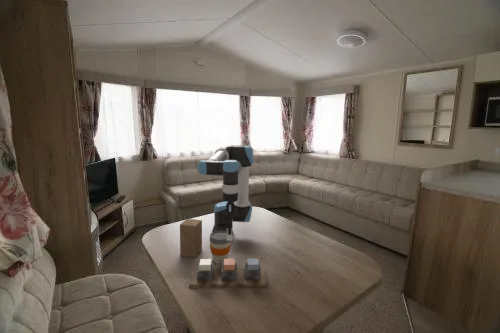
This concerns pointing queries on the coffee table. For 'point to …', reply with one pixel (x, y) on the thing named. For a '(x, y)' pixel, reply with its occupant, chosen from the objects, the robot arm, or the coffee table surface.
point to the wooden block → (190, 238)
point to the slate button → (252, 264)
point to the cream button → (205, 265)
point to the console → (228, 277)
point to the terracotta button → (229, 264)
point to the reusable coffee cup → (219, 246)
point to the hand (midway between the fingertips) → (229, 235)
